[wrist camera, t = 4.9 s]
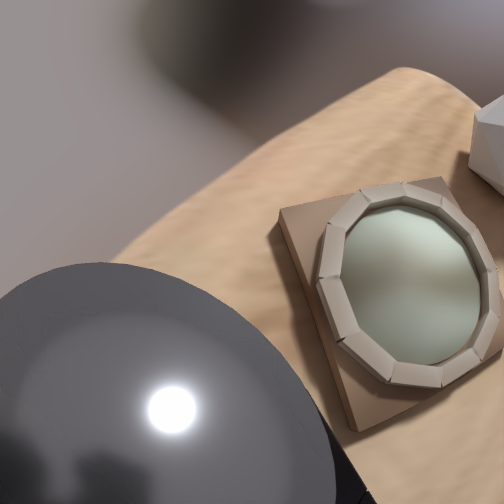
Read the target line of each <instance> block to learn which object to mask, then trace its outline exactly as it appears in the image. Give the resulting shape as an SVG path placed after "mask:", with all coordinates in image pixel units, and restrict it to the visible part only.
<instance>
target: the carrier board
mask: <svg viewBox="0 0 504 504" xmlns="http://www.w3.org/2000/svg"><path fill="white" fill-rule="evenodd" d="M278 222H279V224H280V227H281V230H282V232H283V235H284V238H285V240H286V243H287V246H288V248H289V251H290V254H291V256H292V259H293V262H294V265H295V267H296V270H297V273H298V276H299V278H300V281H301V284H302V287H303V289H304V292H305V295H306V298H307V301H308V303H309V306H310V309H311V312H312V315H313V318H314V320H315V323H316V326H317V329H318V332H319V335H320V338H321V341H322V344H323V347H324V349H325V352H326V355H327V358H328V361H329V364H330V367H331V370H332V373H333V376H334V379H335V382H336V385H337V389H338V392H339V395H340V398H341V401H342V404H343V407H344V410H345V413H346V416H347V420H348V423H349V426H350V429H351V430H352V431H356V432H361V431H363V430H366V429H368V428H370V427H372V426H374V425H377V424H379V423H381V422H383V421H385V420H387V419H389V418H391V417H393V416H395V415H397V414H399V413H401V412H403V411H405V410H407V409H409V408H411V407H412V406H414V405H416V404H418V403H420V402H422V401H423V400H425V399H427V398H429V397H430V396H432V395H434V394H436V393H437V392H439V391H441V390H442V389H444V388H446V387H447V386H449V385H450V384H452V383H454V382H455V381H457V380H458V379H460V378H461V377H463V376H464V375H466V374H467V373H469V372H470V371H472V370H473V369H475V368H476V367H478V366H479V365H481V364H482V363H483V362H485V361H486V360H488V359H489V358H490V357H492V356H493V355H494V354H496V353H497V352H498V351H500V350H501V349H502V348H504V299H503V297H502V294H501V292H500V289H499V277H498V271H496V270H497V267H496V265H495V262H494V260H493V258H492V256H491V254H490V252H489V250H488V247H487V245H486V243H485V241H484V239H483V237H482V235H481V233H480V231H479V230H478V228H476V225H475V224H474V223H473V222H472V221H470V220H469V219H468V218H467V217H466V216H465V215H464V214H463V212H462V210H461V208H460V207H459V205H458V203H457V201H456V200H455V198H454V196H453V195H452V193H451V191H450V190H449V188H448V186H447V185H446V183H445V182H444V180H443V178H442V177H441V176H440V177H435V178H429V179H424V180H418V181H413V182H407V183H404V182H401V183H400V182H394V183H389V184H384V185H378V186H373V187H368V188H363V189H360V190H358V191H357V192H356V193H352V194H347V195H342V196H337V197H332V198H328V199H323V200H318V201H314V202H309V203H304V204H300V205H295V206H291V207H286V208H282V209H280V212H279V218H278ZM475 228H476V229H475Z"/></svg>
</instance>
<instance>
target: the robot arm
mask: <svg viewBox="0 0 504 504" xmlns="http://www.w3.org/2000/svg"><path fill="white" fill-rule="evenodd" d="M306 390H307V389H306ZM307 392H308V390H307ZM308 394H309V392H308ZM309 395H310V394H309ZM310 397H311V395H310ZM311 399H312V397H311ZM312 401H313V402H314V400H313V399H312ZM314 404H315V402H314ZM315 406H316V404H315ZM316 408H317V410H318V413H319V415H320V418H321V420H322V423H323V425H324V428H325V430H326V433H327V435H328V440H329V444H330V448H331V452H332V456H333V461H334V467H335V480H336V500H335V504H377V503H376V502H375V500H374V498H373V497H372V495H371V494H370V492H369V491H366V490H367V487H366V486H365V484H364V483H363V481H362V479H361V478H360V476H359V475H358V473H357V471H356V470H355V468H354V467H353V465H352V463H351V462H350V460H349V458H348V457H347V455H346V454H345V452H344V450H343V449H342V447H341V445H340V444H339V442H338V440H337V439H336V437H335V435H334V434H333V432H332V430H331V429H330V427H329V426H328V424H327V422H326V421H325V419H324V417H323V416H322V414H321V412H320V411H319V409H318V407H317V406H316Z"/></svg>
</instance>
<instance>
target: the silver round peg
mask: <svg viewBox="0 0 504 504" xmlns="http://www.w3.org/2000/svg"><path fill="white" fill-rule="evenodd" d="M335 500H336V480H335V467H334V461H333V456H332V452H331V448H330V444H329V440H328V435H327V433H326V430H325V428H324V425H323V423H322V420H321V418H320V415H319V413H318V410H317V408H316V406H315V404H314V402H313V401H312V399H311V397H310V395H309V394H308V392H307V390H306V388H305V387H304V385H303V383H302V381H301V380H300V378H299V377H298V376H297V374H296V373H295V372H294V370H293V369H292V368H291V366H290V365H289V364H288V362H287V361H286V360H285V358H284V357H283V356H282V354H281V353H280V352H279V351H278V350H277V349H276V348H275V347H274V346H273V345H272V344H271V343H270V342H269V341H268V340H267V338H266V337H265V336H264V335H263V334H262V333H261V332H260V331H259V330H258V329H257V328H255V327H254V326H253V325H252V324H251V323H249V322H248V321H247V320H246V319H244V318H243V317H242V316H241V315H240V314H238V313H237V312H236V311H235V310H234V309H232V308H231V307H229V306H228V305H226V304H224V303H223V302H221V301H220V300H218V299H217V298H215V297H213V296H212V295H210V294H209V293H207V292H206V291H203V290H201V289H199V288H197V287H195V286H193V285H191V284H189V283H187V282H185V281H183V280H181V279H179V278H176V277H173V276H170V275H167V274H164V273H161V272H158V271H155V270H152V269H147V268H143V267H138V266H133V265H128V264H118V263H103V262H99V263H84V264H75V265H70V266H65V267H61V268H56V269H53V270H50V271H48V272H45V273H42V274H40V275H37V276H35V277H33V278H31V279H29V280H27V281H25V282H24V283H22V284H20V285H18V286H17V287H15V288H14V289H13V290H11V291H10V292H9V293H8V294H6V295H5V296H3V297H2V298H1V299H0V504H335Z"/></svg>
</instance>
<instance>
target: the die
mask: <svg viewBox="0 0 504 504" xmlns="http://www.w3.org/2000/svg"><path fill="white" fill-rule="evenodd" d="M468 167H469V168H470V169H471V170H473V171H474V172H475V173H476V174H478V175H479V176H480V177H481V178H483V179H484V180H485V181H486V182H487V183H489V184H490V185H491V186H492V187H493V188H494V189H496V190H497V191H498V192H499V193H500V194H501V195H502V196H503V197H504V95H503V96H501V97H499V98H498V99H496V100H495V101H493V102H491V103H490V104H488V105H487V106H485V107H484V108H482V109H480V110H479V111H477V112H475V113H474V123H473V133H472V141H471V149H470V156H469V163H468Z"/></svg>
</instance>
